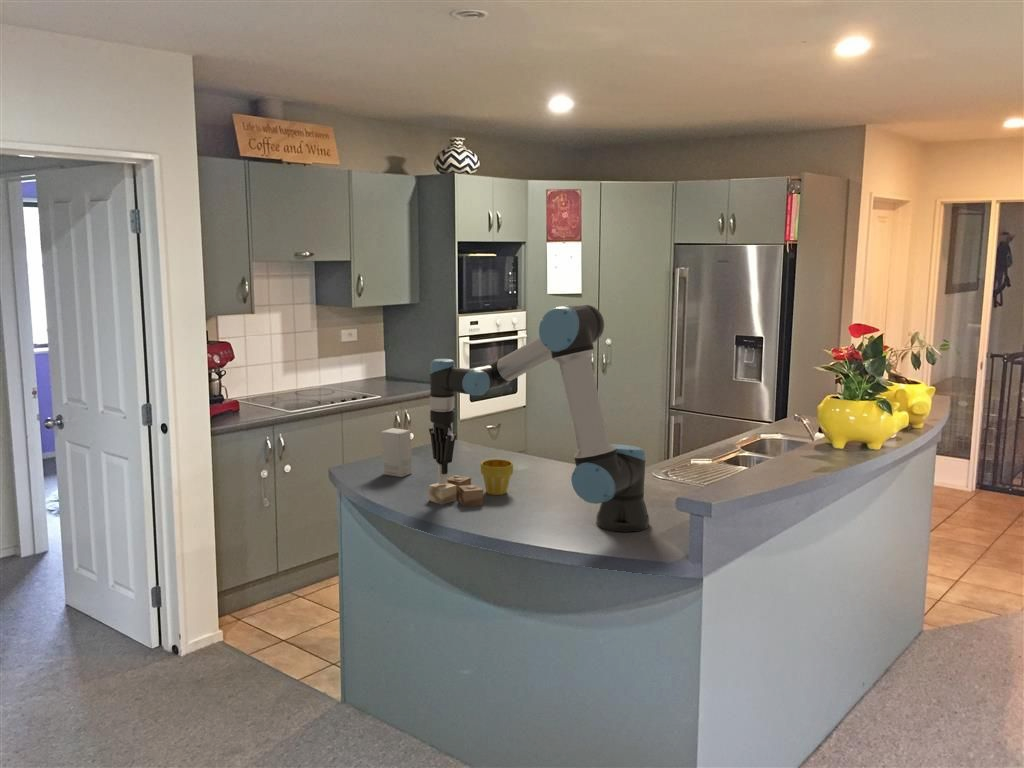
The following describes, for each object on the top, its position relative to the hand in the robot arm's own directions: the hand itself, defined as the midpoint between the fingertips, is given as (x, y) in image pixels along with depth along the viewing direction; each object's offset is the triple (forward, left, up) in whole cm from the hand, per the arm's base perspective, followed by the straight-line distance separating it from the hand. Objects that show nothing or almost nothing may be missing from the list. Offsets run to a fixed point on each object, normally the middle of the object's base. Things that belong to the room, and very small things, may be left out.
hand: (442, 483), depth 268 cm
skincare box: (+35, -2, -6) cm, 35 cm away
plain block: (0, 0, -6) cm, 6 cm away
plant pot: (-2, -19, -6) cm, 20 cm away
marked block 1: (+4, -8, -6) cm, 11 cm away
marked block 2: (-7, -6, -6) cm, 11 cm away
